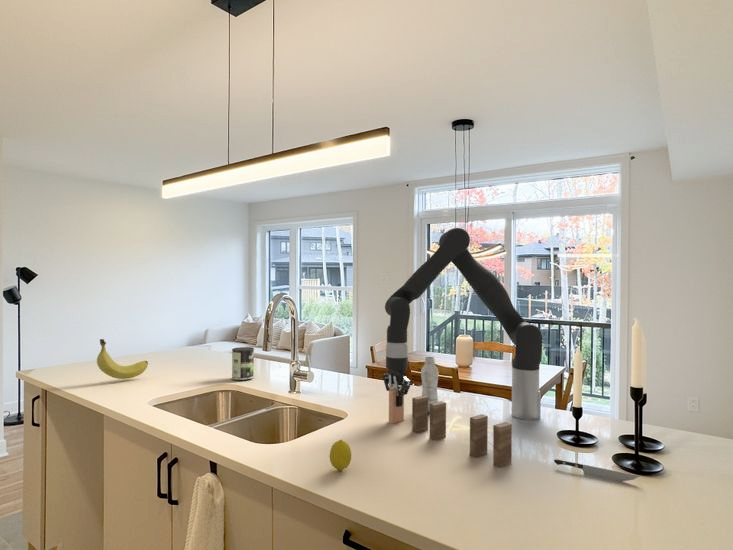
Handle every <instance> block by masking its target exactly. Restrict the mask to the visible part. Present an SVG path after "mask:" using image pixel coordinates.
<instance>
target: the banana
mask: <svg viewBox="0 0 733 550" xmlns="http://www.w3.org/2000/svg"><path fill="white" fill-rule="evenodd" d="M99 344H100V346H101V350H100V352H99V353H98V355H97V357H96V365H97V367H98V368H99V370H100V371H101V372H103V373H104V374H105V375H107V376H109V377H110V378H112V379H118V380H119V379H120V380H125V379H132V378H135V377H138V376H141V375H142V374H143V373H145V371H146V369H147V368H148V365H149V362H148V361H147V360H143V361H139V362H136V363H134V364H131V365H120V364H118V363H117V362H116V361H114V359H113V358H112V357H111V356H110V354H109V353H108V352H107V350H106V344H107V342H106V341H105V339H104V338H100V339H99Z"/></svg>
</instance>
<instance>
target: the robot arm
mask: <svg viewBox="0 0 733 550" xmlns="http://www.w3.org/2000/svg"><path fill="white" fill-rule="evenodd" d="M470 243H471V238H470V234H469V233H468V231H467V230H466V229H465V228H462V227H454V228H450V229H448V230H447V231H445V232H444V233H443V234H441V236H440V238H439V240H438V246H439V247H438V248H437V250H436V251H435V252H434V253H433V254H432V255H431V256H430V257H429V258H428V259H427V260H426V261H425V262H424V263H423V264H422V265H420V267H418V268H417V270H415V271H414V273H413V274H412V275H410V276H409V278H408V279H407V280H406V281H405V283H404V284H403V285H402V286H401V287H400V288H398V289H397V290H396V291H395V292H394V293H392V295H390V297H388V299H387V300H386V301H385V303H384V310H385V313H386V314H387V315H388V316H390V320H389V321H390V322H389V325H388V326H387V329H386V347H385V368H386V370H387V372H386V373H384V374H382V380H383V383H384V387H385V390H386V391H387V392H389V390H392V389H396V407H401V406H402V404H403V395H404V396H405V395H408V393H409V390H410V388H411V385H412V381H413V380H412V379H409V378H407V373H406V371H407V370H408V367H409V366H408V365H409V364H408V363H409V359H408V358H409V355H408V353H409V349H408V348H409V347H408V326H409V323H410V316H411V306H410V304H411V303H412V302H413V301H414V300H415V301H416V300H417V299H419V298H420V297H421V296H422V295H423V294H424V293H425V292H426V291H427V290H428V288H429V287H430V286H431V285H432V284H433V282H434V281H435V280H436V279H437V277H439V275H440V274H441V273H442V271H443V270H445V268H447V267H448V265H450V263H452V264H453V265H454V266H455V267H456V268H457V270H458V271H459V272H460V274H462V276H463V278H464V279H465V281H467V284H468V285H469V286H470V287H471V289H472V290H473V291H474V293H475V295H477V297H478V298H479V299H480V301H481V302H482V303H483V305H485V306H486V308H487V309H488V310H489V312H490V313H491V314H492V315H493V316H494V317H495V318H496V319H497V321H499V323H500V324H501V326H502V328H503V329H504V330H505V333H506V334H507V336H508V338H509V339H510V341H511V342H512V343H513V344H514V345H515V353H514V354H515V355H514V357H513V358H512V360H511V416H512V417H514V418H517V419H519V420H525V421H535V420H541V418H542V417H541V416H542V415H541V412H542V409H541V405H542V403H541V401H542V400H541V399H542V397H541V396H542V395H541V391H540V365H541V362H542V358H543V357H542V356H543V335H542V331H541V329H540V328H539V327H538V326H537V325H535V324H532V323H529V322H528V321H526V320H525V319H524V318H523V316H521V314H520V313H519V312H518V311H517V310H516V308H515V306H514V305H513V303H512V301H511V298H510V295H509V293H508V291H507V290H506V288H505V287H504V285H503V284H502V283H501V281H500V279H498V277H497V276H496V275H495V274H494V273H493V272H492V271H491V270H490V269H489V268H487V267H486V266H484V265H483V264H482V263H480V262H479V261H478V260H477V259H476V258H475V257H474V256H473V255H472V253H471V252H470V251H469V249H468V248H469V246H470ZM399 389H400V392H399Z"/></svg>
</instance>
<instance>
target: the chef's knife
mask: <svg viewBox="0 0 733 550" xmlns="http://www.w3.org/2000/svg"><path fill="white" fill-rule="evenodd" d="M553 461H554V463H555V464H556V465H558V466H559V465H563V466H570V467H574V468H577V469H579V470H580V469H581V470H582V473H583V475H587V476H591V477H596V478H601V479H606V480H612V481H617V482H627V481H633V480H635V479H637V478H639V477H640V475H637V474H633V473H632V474H631V473H629V472H628V473H627V472H623V471H618V470H613V469H608V468H603V467H599V466H593V465H588V464H582V463H575V462H571V461H565V460H561V459H553Z"/></svg>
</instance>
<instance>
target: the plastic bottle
mask: <svg viewBox="0 0 733 550" xmlns="http://www.w3.org/2000/svg"><path fill="white" fill-rule="evenodd" d="M435 364H436V357H434V356H425V357H424V364H423V366H422V368H420V369H421V370H420V377H421V386H422V390H421V391H422V392H421V396H427V397H428V414H430V404H431V403H436V402H439V397H438V382H439V373H440V372H439V370H438V366H436V365H435Z"/></svg>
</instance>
